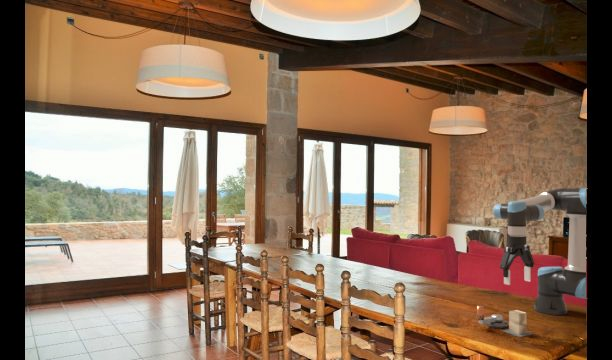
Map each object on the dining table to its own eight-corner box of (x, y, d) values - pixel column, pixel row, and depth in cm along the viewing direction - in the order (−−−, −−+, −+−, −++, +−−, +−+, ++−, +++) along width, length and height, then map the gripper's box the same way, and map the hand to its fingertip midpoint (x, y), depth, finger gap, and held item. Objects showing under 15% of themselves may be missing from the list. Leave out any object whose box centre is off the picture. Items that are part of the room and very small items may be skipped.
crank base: (495, 321, 215) (495, 317, 215) (511, 326, 207) (511, 322, 207) (482, 324, 211) (482, 320, 211) (498, 329, 203) (498, 325, 203)
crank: (496, 318, 212) (496, 301, 212) (505, 321, 208) (505, 304, 208) (473, 323, 206) (473, 305, 206) (482, 326, 201) (482, 308, 201)
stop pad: (515, 328, 205) (515, 327, 205) (533, 334, 197) (533, 333, 197) (502, 331, 201) (502, 330, 201) (519, 337, 193) (519, 336, 193)
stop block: (516, 329, 203) (516, 309, 203) (526, 332, 198) (526, 312, 198) (509, 331, 200) (509, 311, 200) (518, 334, 196) (518, 314, 196)
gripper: (528, 233, 208) (528, 278, 208) (490, 236, 197) (491, 284, 197) (542, 234, 202) (543, 281, 202) (505, 238, 190) (505, 287, 190)
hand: (517, 282), depth 199 cm, fingers open, 13 cm apart
